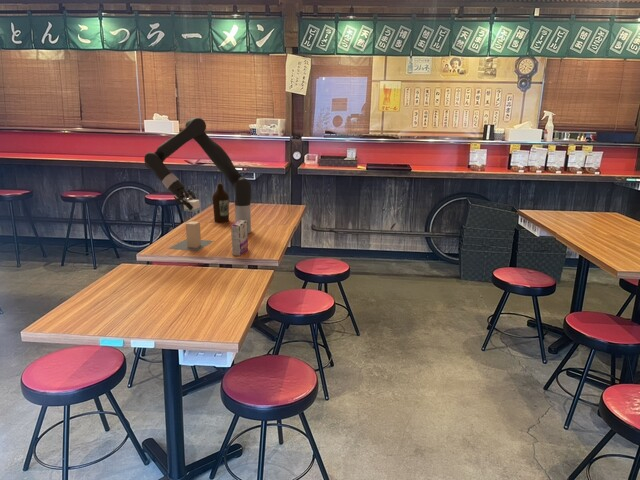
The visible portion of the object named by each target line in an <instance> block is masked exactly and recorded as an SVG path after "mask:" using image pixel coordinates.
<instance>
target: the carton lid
mask: <svg viewBox="0 0 640 480" xmlns="http://www.w3.org/2000/svg"><path fill="white" fill-rule="evenodd" d="M187 201H188V202H189V203H190V204H191V205H192V207H193V209H192V210H189V209H188V208H187V206H186V205H183V211H184V212H194V213H196V212H197V211H199V210H201V205H200V199H195V200H192V199H189V200H187Z"/></svg>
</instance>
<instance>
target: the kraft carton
mask: <svg viewBox="0 0 640 480" xmlns="http://www.w3.org/2000/svg"><path fill="white" fill-rule="evenodd" d="M185 233H186V239H187V247H192V248H197V247H199V246H201V240H202V235H201V233H202V232H201V221H193V220H192V221H189V222H186V223H185Z"/></svg>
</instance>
